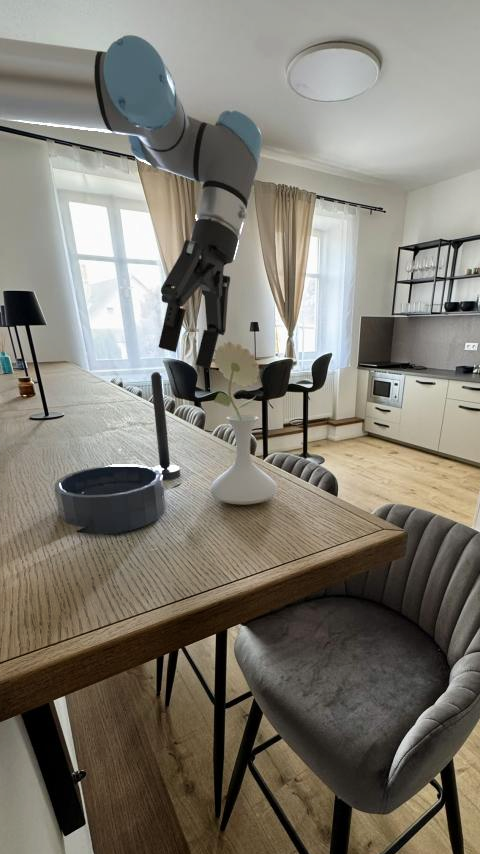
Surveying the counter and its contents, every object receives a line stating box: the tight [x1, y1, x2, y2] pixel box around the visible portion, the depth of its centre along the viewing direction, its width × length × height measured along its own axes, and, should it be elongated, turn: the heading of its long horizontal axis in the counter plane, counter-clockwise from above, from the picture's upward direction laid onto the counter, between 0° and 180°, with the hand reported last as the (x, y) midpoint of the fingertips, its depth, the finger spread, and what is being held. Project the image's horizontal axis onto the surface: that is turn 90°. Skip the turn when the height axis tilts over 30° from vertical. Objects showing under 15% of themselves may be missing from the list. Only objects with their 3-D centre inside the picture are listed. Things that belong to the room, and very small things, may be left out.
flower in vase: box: [209, 341, 278, 506], centre depth 66 cm, size 13×11×25 cm
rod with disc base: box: [150, 371, 181, 489], centre depth 73 cm, size 5×5×20 cm
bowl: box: [53, 464, 166, 535], centre depth 61 cm, size 15×15×6 cm
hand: (186, 359), depth 71 cm, fingers open, 13 cm apart
